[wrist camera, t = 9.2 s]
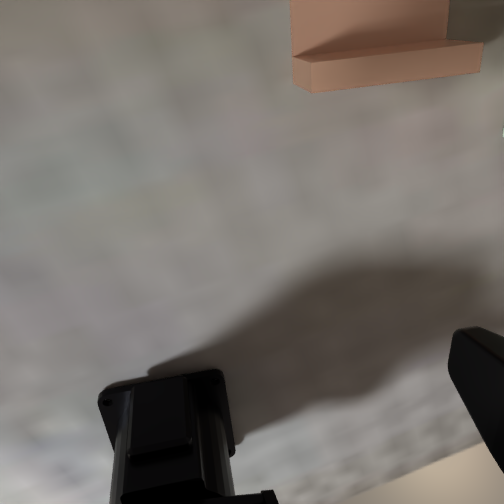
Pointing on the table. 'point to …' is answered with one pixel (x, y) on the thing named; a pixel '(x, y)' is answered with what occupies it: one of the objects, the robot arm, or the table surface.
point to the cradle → (375, 43)
